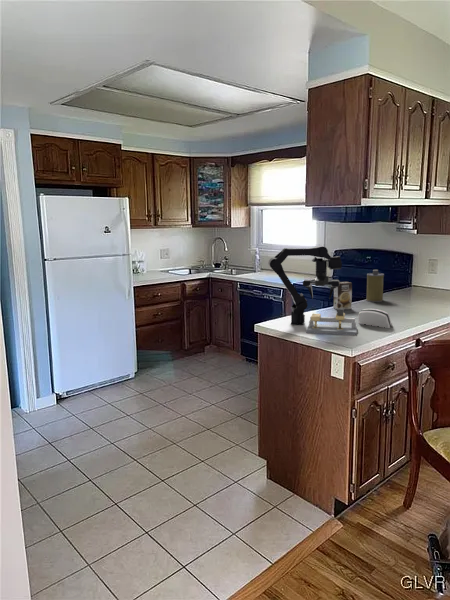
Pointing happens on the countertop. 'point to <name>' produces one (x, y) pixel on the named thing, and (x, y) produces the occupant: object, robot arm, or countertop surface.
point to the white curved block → (374, 318)
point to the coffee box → (343, 295)
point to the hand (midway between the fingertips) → (321, 298)
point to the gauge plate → (331, 326)
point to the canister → (375, 286)
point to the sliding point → (340, 315)
